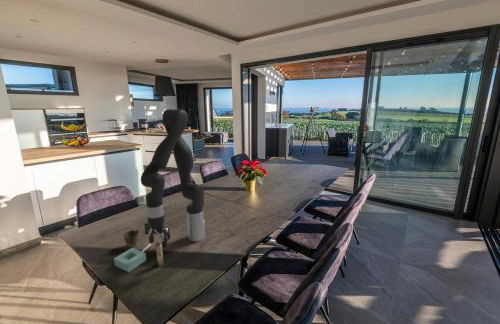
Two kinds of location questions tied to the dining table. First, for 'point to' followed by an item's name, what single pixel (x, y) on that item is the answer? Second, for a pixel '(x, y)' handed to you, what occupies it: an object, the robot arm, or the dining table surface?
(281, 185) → the dining table surface
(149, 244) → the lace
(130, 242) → the cup
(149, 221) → the robot arm
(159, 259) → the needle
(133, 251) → the teal open tray
